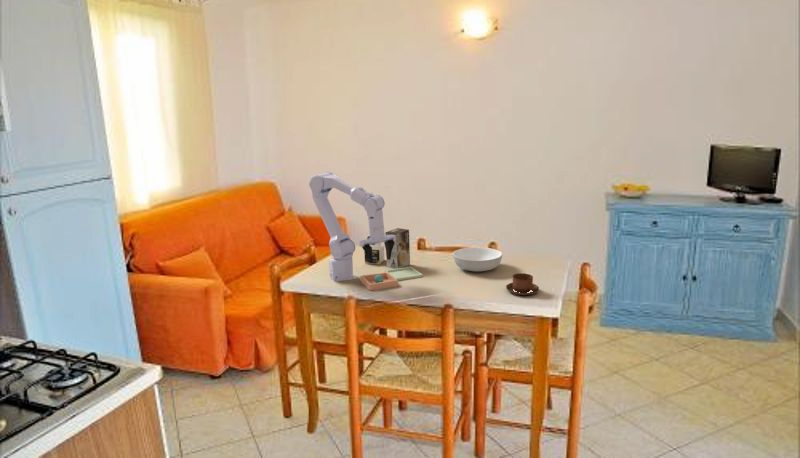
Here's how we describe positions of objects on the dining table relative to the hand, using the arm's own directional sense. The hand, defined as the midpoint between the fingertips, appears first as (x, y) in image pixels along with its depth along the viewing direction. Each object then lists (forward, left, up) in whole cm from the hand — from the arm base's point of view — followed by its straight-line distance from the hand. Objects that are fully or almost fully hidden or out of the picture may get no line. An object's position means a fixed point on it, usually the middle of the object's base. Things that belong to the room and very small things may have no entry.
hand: (379, 261), depth 216 cm
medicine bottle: (+8, +30, -10) cm, 32 cm away
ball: (-1, 0, -9) cm, 9 cm away
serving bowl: (+44, +1, -10) cm, 45 cm away
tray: (+12, +6, -10) cm, 17 cm away
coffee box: (+15, +19, -10) cm, 26 cm away
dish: (-1, 0, -10) cm, 10 cm away
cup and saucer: (+45, -31, -10) cm, 56 cm away
